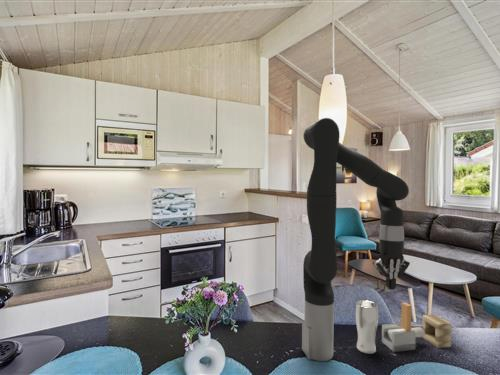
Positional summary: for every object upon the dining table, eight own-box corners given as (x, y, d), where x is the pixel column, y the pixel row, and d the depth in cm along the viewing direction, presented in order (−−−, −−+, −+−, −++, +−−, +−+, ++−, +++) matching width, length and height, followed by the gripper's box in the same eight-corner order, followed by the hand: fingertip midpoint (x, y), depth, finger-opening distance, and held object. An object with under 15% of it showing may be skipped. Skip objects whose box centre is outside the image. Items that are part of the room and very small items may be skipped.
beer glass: (353, 351, 96) (354, 305, 96) (356, 341, 102) (357, 298, 102) (376, 357, 92) (377, 310, 92) (378, 346, 99) (378, 302, 99)
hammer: (393, 341, 97) (393, 307, 97) (387, 336, 100) (388, 303, 100) (424, 338, 99) (425, 304, 99) (418, 334, 102) (418, 301, 102)
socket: (438, 348, 98) (438, 324, 98) (422, 337, 105) (422, 315, 105) (450, 346, 99) (451, 323, 99) (434, 336, 106) (434, 314, 106)
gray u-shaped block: (393, 351, 95) (394, 333, 95) (381, 341, 102) (382, 324, 102) (415, 349, 97) (415, 331, 97) (402, 339, 103) (402, 322, 103)
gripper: (380, 240, 94) (380, 294, 94) (416, 239, 96) (416, 291, 96) (367, 236, 101) (366, 286, 101) (401, 235, 104) (400, 284, 104)
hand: (391, 288), depth 99 cm, fingers closed
